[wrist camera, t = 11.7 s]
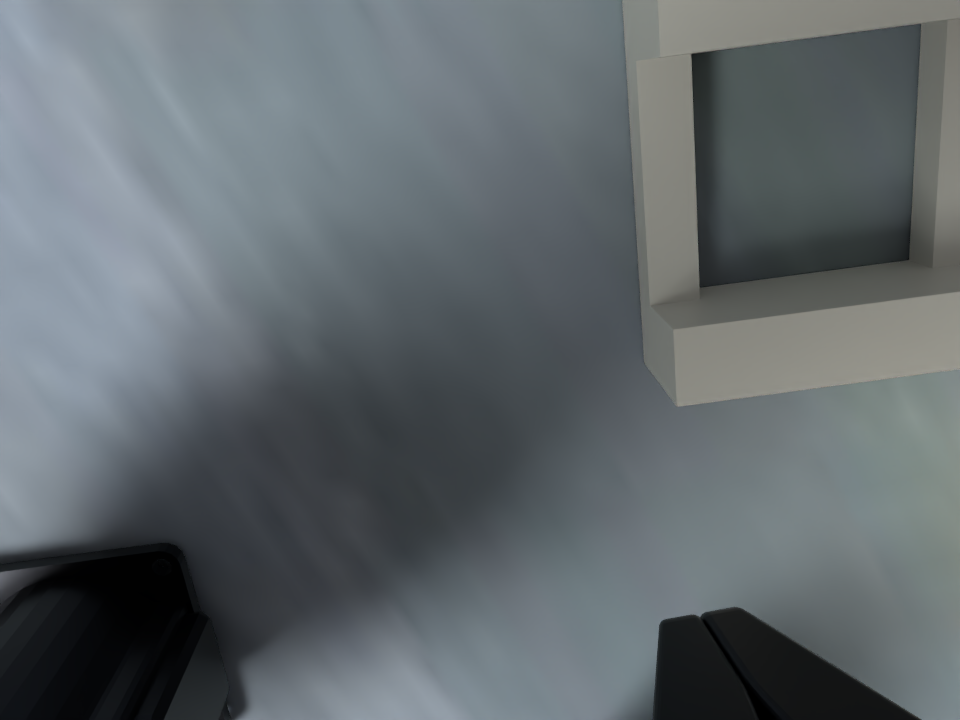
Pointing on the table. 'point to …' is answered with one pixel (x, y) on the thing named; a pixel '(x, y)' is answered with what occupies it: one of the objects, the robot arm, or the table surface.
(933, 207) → the grey square frame
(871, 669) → the table surface
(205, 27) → the table surface
